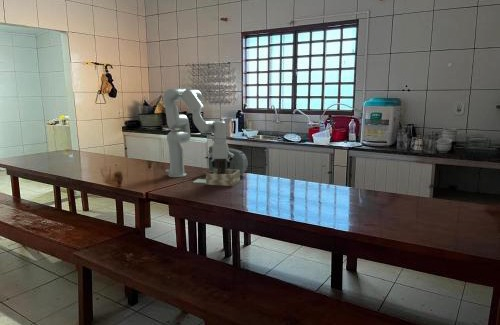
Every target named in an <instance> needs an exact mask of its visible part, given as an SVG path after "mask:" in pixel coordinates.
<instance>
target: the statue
mask: <svg viewBox="0 0 500 325" xmlns="http://www.w3.org/2000/svg"><path fill="white" fill-rule="evenodd" d="M225 162H226V159H219V163H218V170H217V171H218V172H217V174H225V166H226V164H225Z"/></svg>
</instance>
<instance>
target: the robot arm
mask: <svg viewBox="0 0 500 325" xmlns="http://www.w3.org/2000/svg"><path fill="white" fill-rule="evenodd" d="M162 98H163V99H162V100H163V105H164V109H165V115H166V116H165V117H166V124H167V127H168V128H169V129H175V130H171V131H169V132H168V133H167V134H166V141H167V144H168V151H169V152H168V154H169V167H170V168H169V169H168V168H167V169H165V170H164V171H165V173H168V177H169V178H182V177H183V178H184V177H187V172H185V160H184V149H183V147H182V144H186V143H189V141H190V139H191V129H190V128H191V127H190V122H189V118H188V117H187V115H185V114H184V113H179V107H178V105H177V103H176V102H184V103H185V105H186V106H187V107H188V108H189V110H190V112H191V113H192V121H193V124H194V125H195V127H196V128H197V129H198V131H199V132H200V133H202V134H207V133H208V134H210V133H213V138H212V139H211V140H212V142H213V143H212V146H213V148H212V153H210V154H209V153H208V154H207V156H208V157H209V159H210V160H211V161H212V166H213V168H214V167H216V165H215V159H226V160H227V161H228V162H227V168H229V167H230V161H231V160H232V159H233V157H234V154H232V153H230V152H229V149H228V148H229V145H228V142H227V128H226V126H227V125H226V124H227V123H226V122H225V121H224V120H218V121H217V120H205V119H204V118H203V116H202V115H201V113H202V111H203V110H204V108H205V106H204V105H203V103H202V102H201V101H202V99H203V94H202V92H201V91H200V90H199V89H193V88H192V89H191V88H184V87H183V88H178V87H173V88H168V89H166V90H165V91H164V93H163V97H162ZM176 129H177V130H176ZM211 155H212V157H211ZM229 155H231V158H229Z"/></svg>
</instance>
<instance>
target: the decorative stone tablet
mask: <svg viewBox="0 0 500 325" xmlns="http://www.w3.org/2000/svg"><path fill="white" fill-rule="evenodd" d="M212 148H213V145H210V146H209V147H208V154H210V153H212ZM228 149H229V152H230V153H232V154H234V157H233V159H232V160H231V161H230V167H229V168H227V162H228V161H227V160H226V162H225V164H226V166H225V169H230V170H240V176H241V175H243V174H244V173H245V172H246V171H247V168H248V165H249V162H248V156H246V154H245V153H244V152H243V151H242V150H239V149H236V148H230V147H228ZM211 157H212V155H211ZM229 158H231V155H229ZM207 162H208V163H207V164H208V166H207V167H208V171H210V172H213V169H218V163H219V159H215V165H216V167H214V168H213V166H212V161H211V160H210V159H209V157H208V161H207Z"/></svg>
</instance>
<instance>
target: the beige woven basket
mask: <svg viewBox="0 0 500 325" xmlns="http://www.w3.org/2000/svg"><path fill="white" fill-rule="evenodd" d="M217 170H218V169H213V171H212V172H213V173H205V179H206V183H205V185H207V186H209V185H210V186H229V187H235V185H237V183H238V184H239V182H240V181H241V175H240V170H230V169H225V174H217V172H218V171H217Z"/></svg>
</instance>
